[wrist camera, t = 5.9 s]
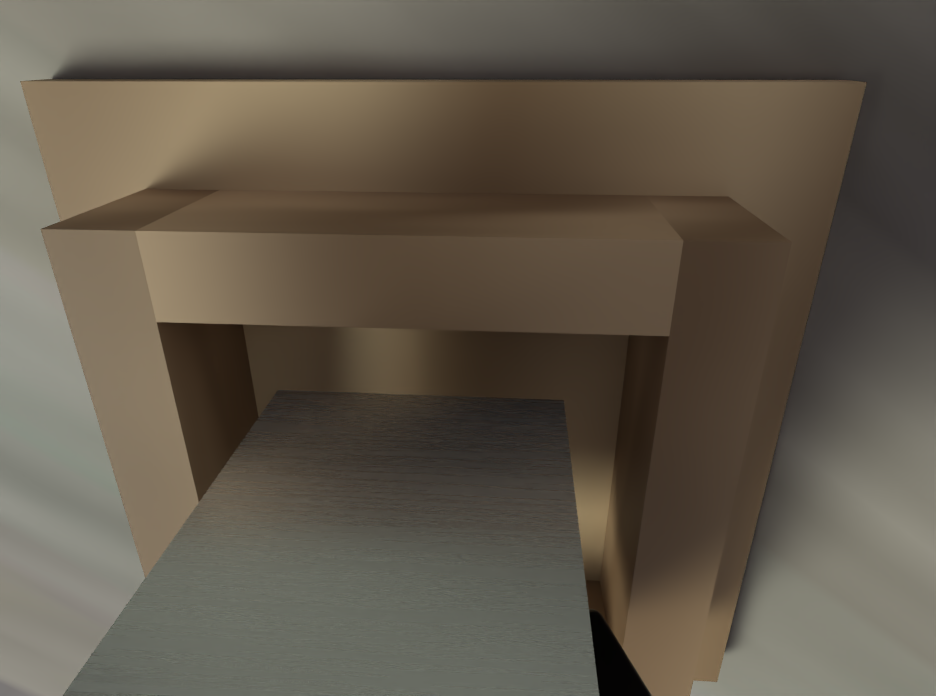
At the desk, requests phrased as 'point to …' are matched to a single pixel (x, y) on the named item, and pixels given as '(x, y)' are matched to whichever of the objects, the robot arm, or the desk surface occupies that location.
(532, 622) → the stepped grey box
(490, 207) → the frame
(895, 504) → the desk surface
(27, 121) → the desk surface
